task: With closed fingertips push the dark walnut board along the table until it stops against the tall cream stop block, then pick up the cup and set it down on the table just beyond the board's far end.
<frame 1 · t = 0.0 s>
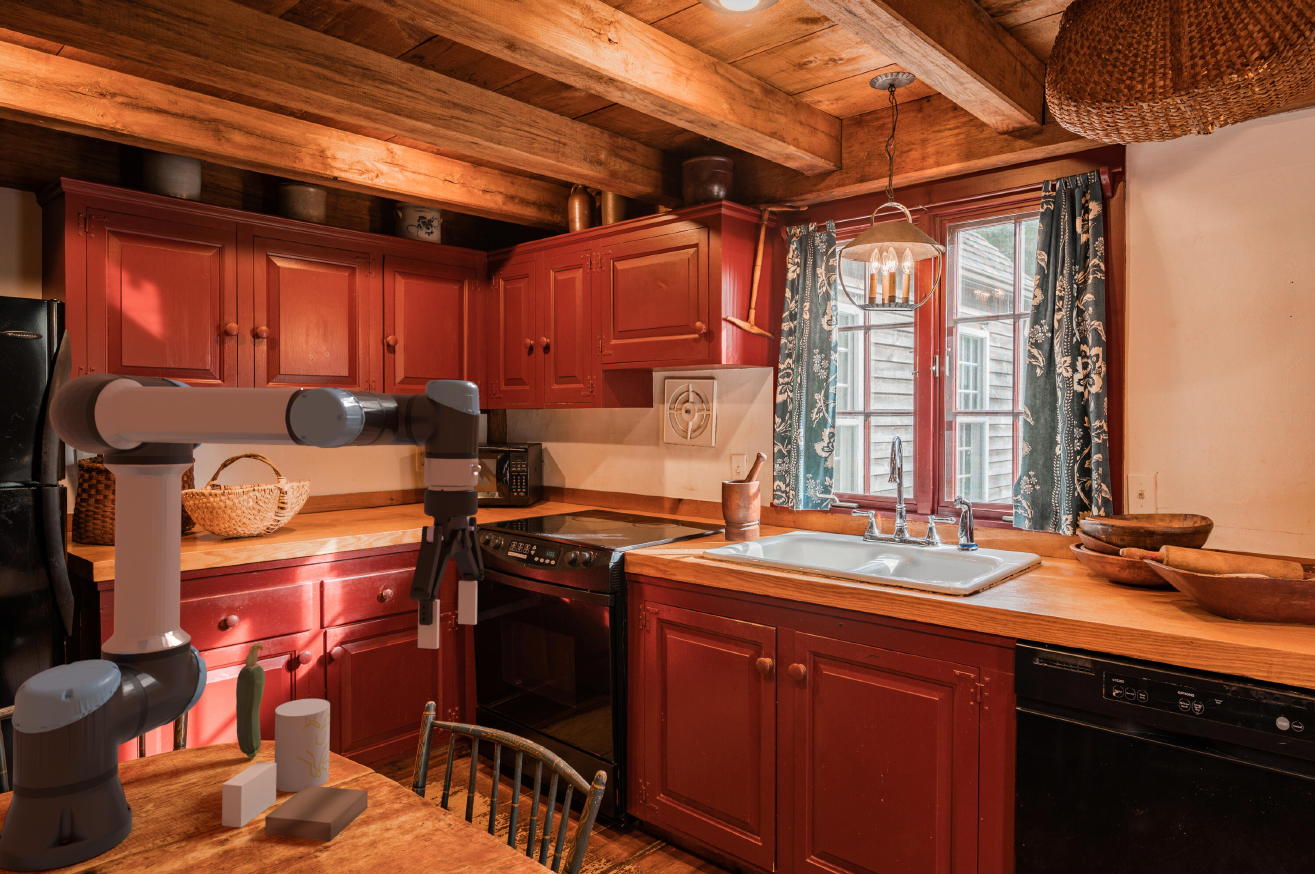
hand: (449, 635, 115), 28 cm above the table, fingers open, 13 cm apart
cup: (301, 781, 130), on the table
stop block: (249, 813, 118), on the table
vegetable: (249, 758, 138), on the table
board: (318, 823, 117), on the table
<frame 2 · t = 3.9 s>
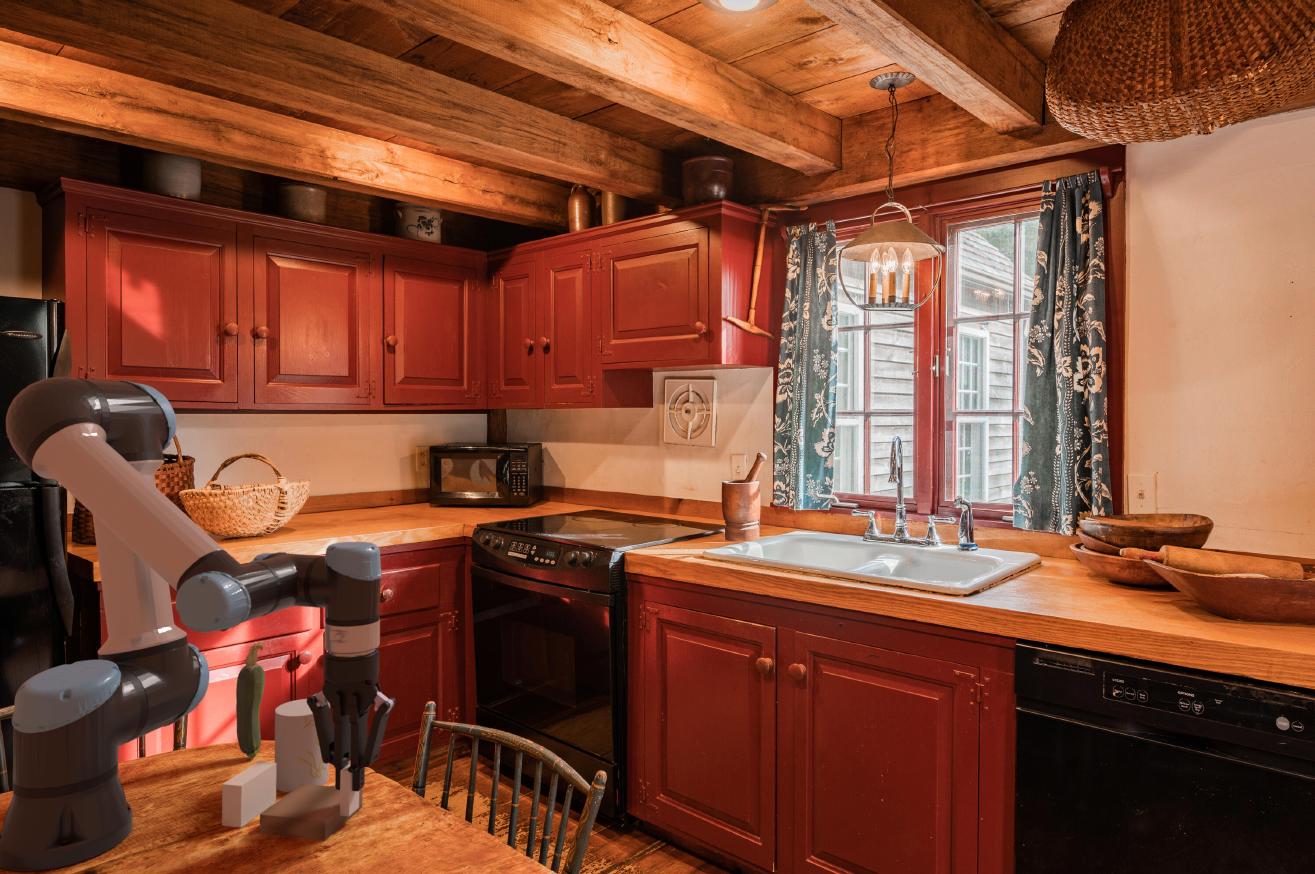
hand: (349, 811, 116), 2 cm above the table, fingers closed
board: (312, 821, 117), on the table, touching gripper
everything else where it was.
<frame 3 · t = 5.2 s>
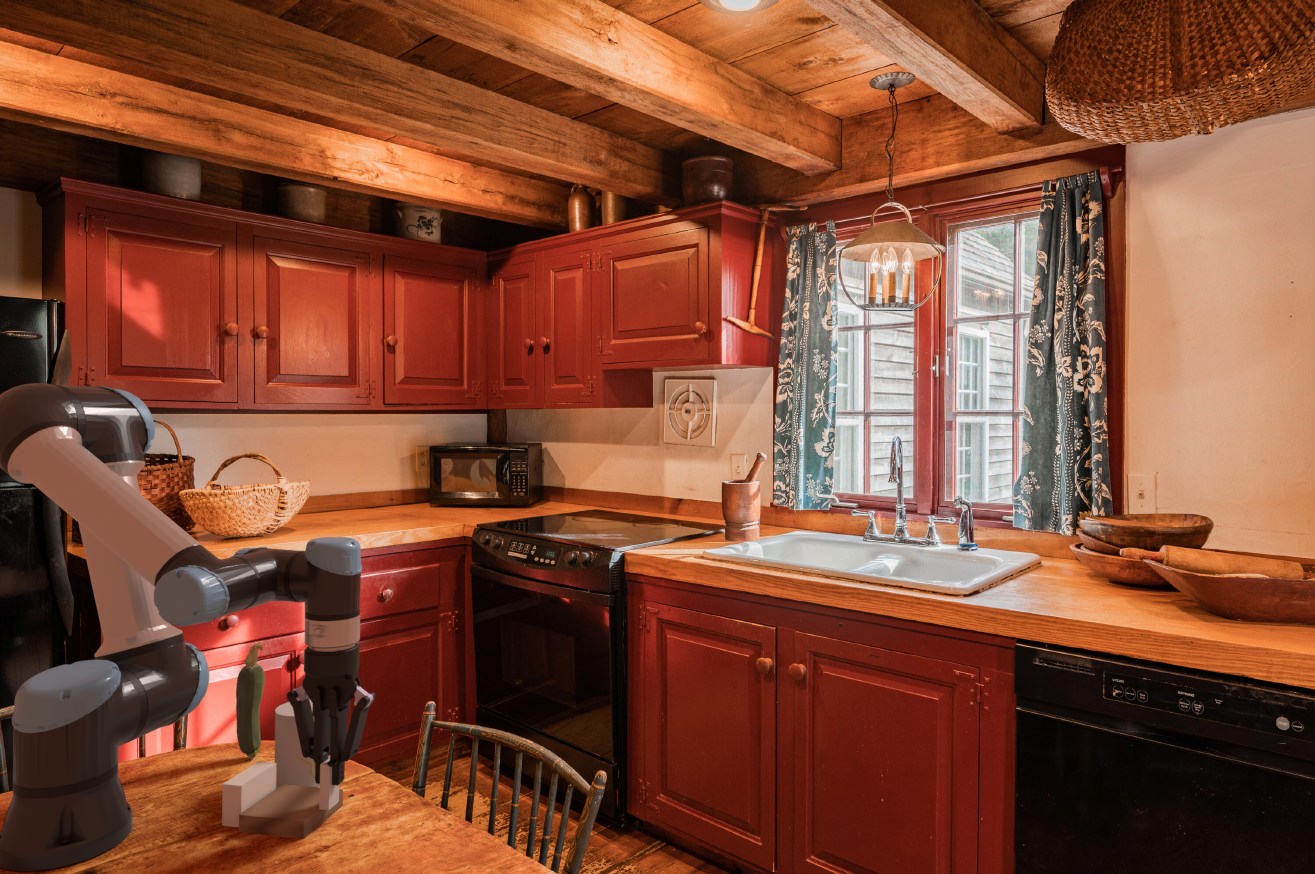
hand: (329, 805, 116), 2 cm above the table, fingers closed
board: (292, 821, 117), on the table
everything else where it was.
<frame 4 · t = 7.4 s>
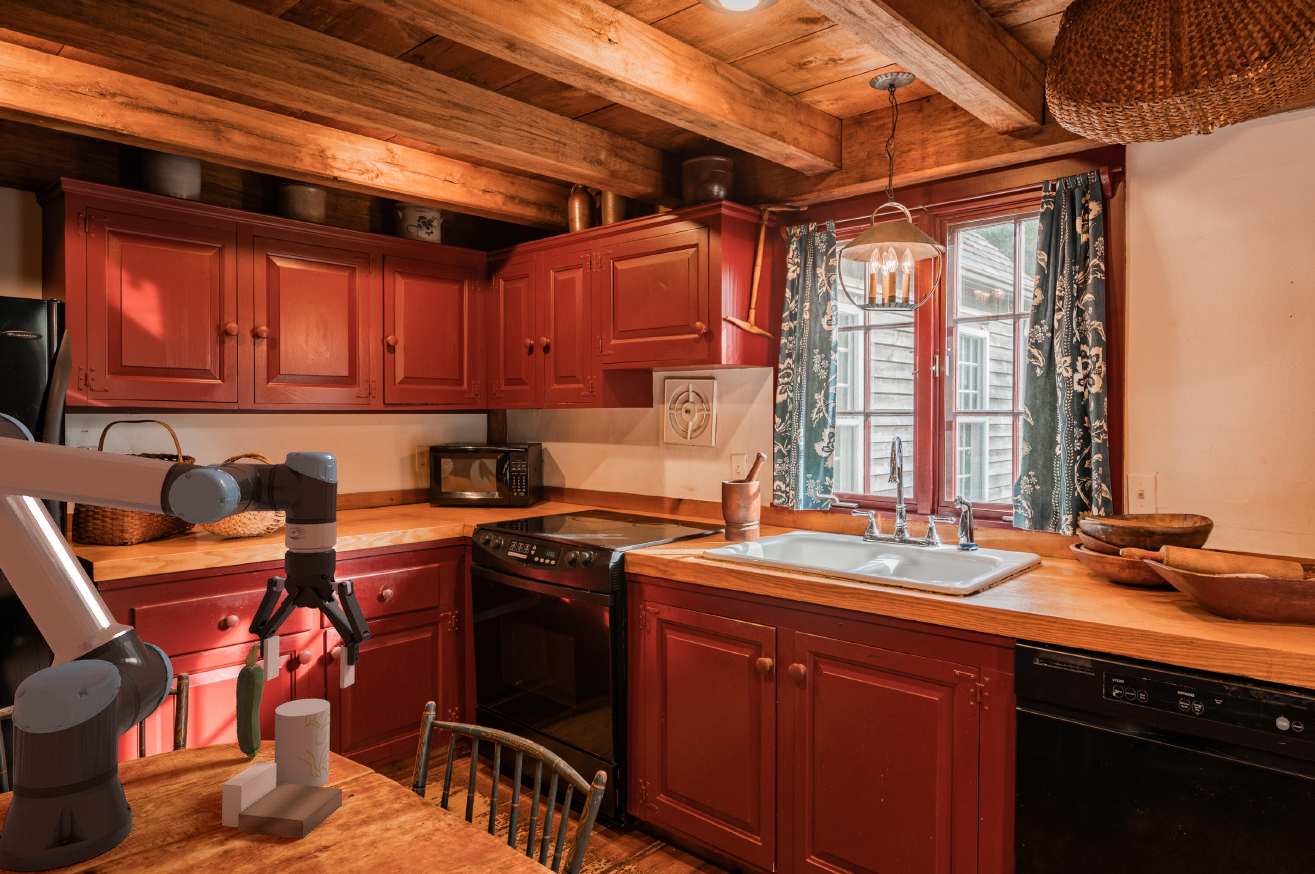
hand: (308, 681, 127), 17 cm above the table, fingers open, 13 cm apart
nothing on the table moved.
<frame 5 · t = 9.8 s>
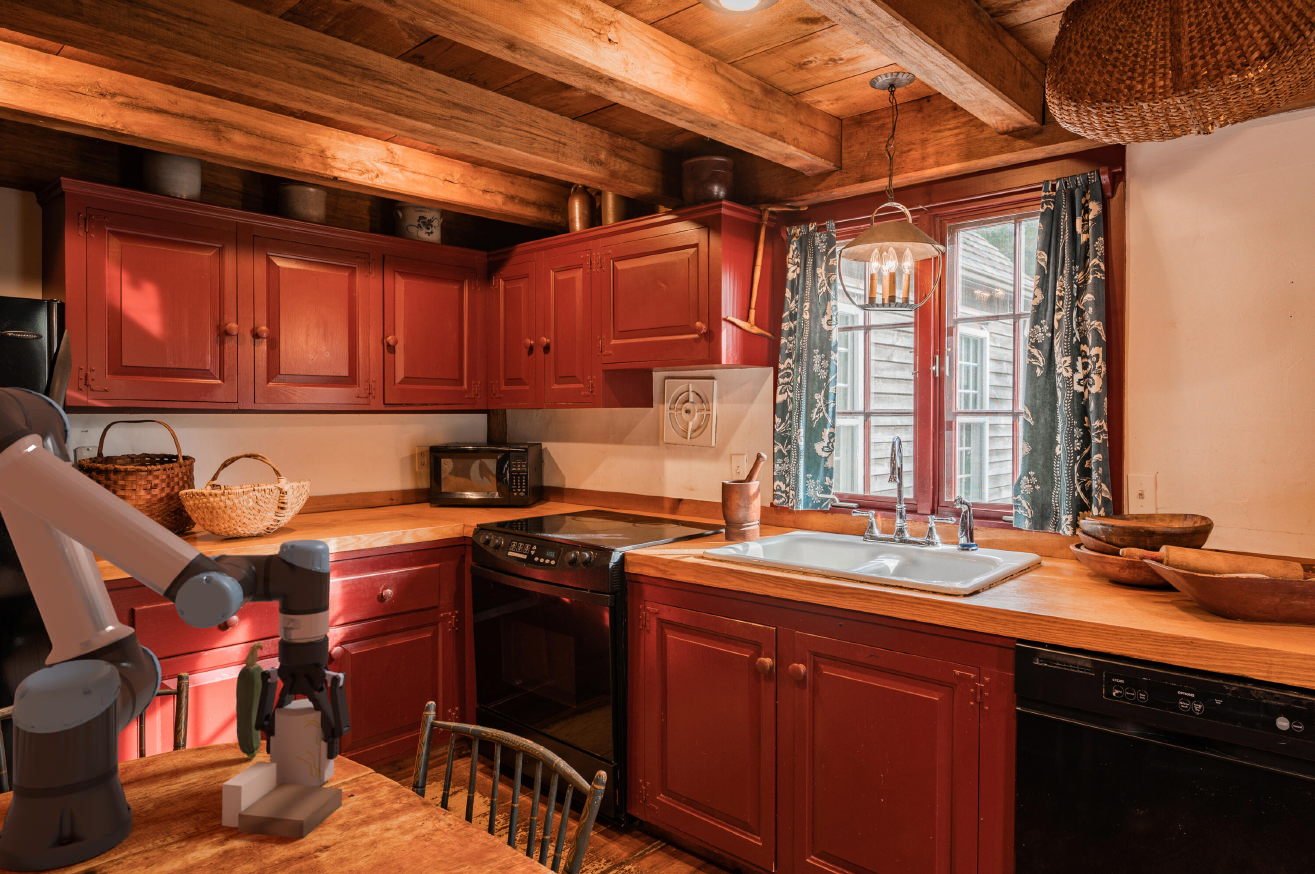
hand: (301, 775, 130), 1 cm above the table, fingers closed on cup, 8 cm apart
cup: (301, 781, 130), on the table, touching gripper
everything else where it was.
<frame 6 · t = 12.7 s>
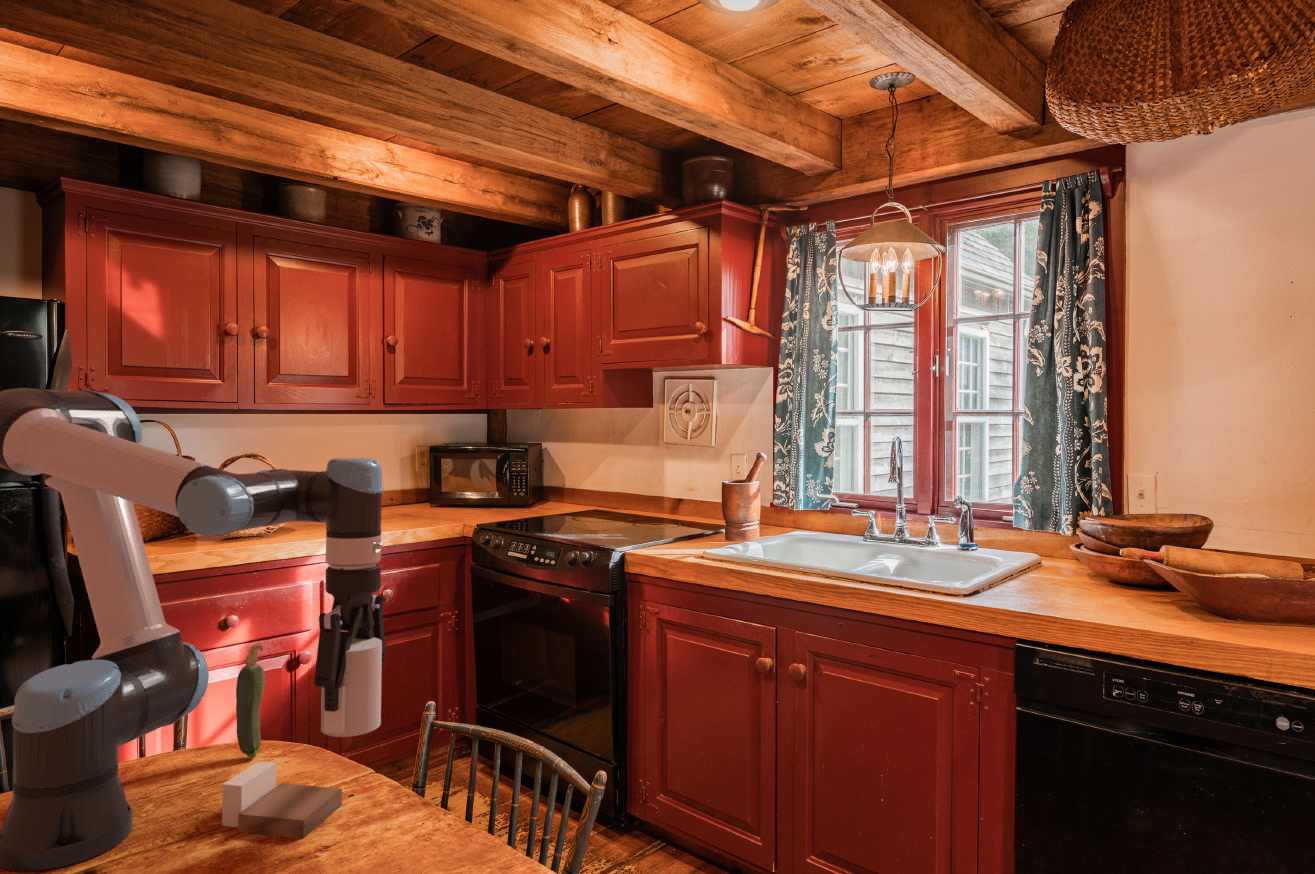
hand: (351, 720, 116), 15 cm above the table, fingers closed on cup, 8 cm apart
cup: (351, 727, 116), point 14 cm above the table, touching gripper
everything else where it was.
when the fingers open (1 cm above the table, at t = 15.6 s): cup stays where it is, on the table.
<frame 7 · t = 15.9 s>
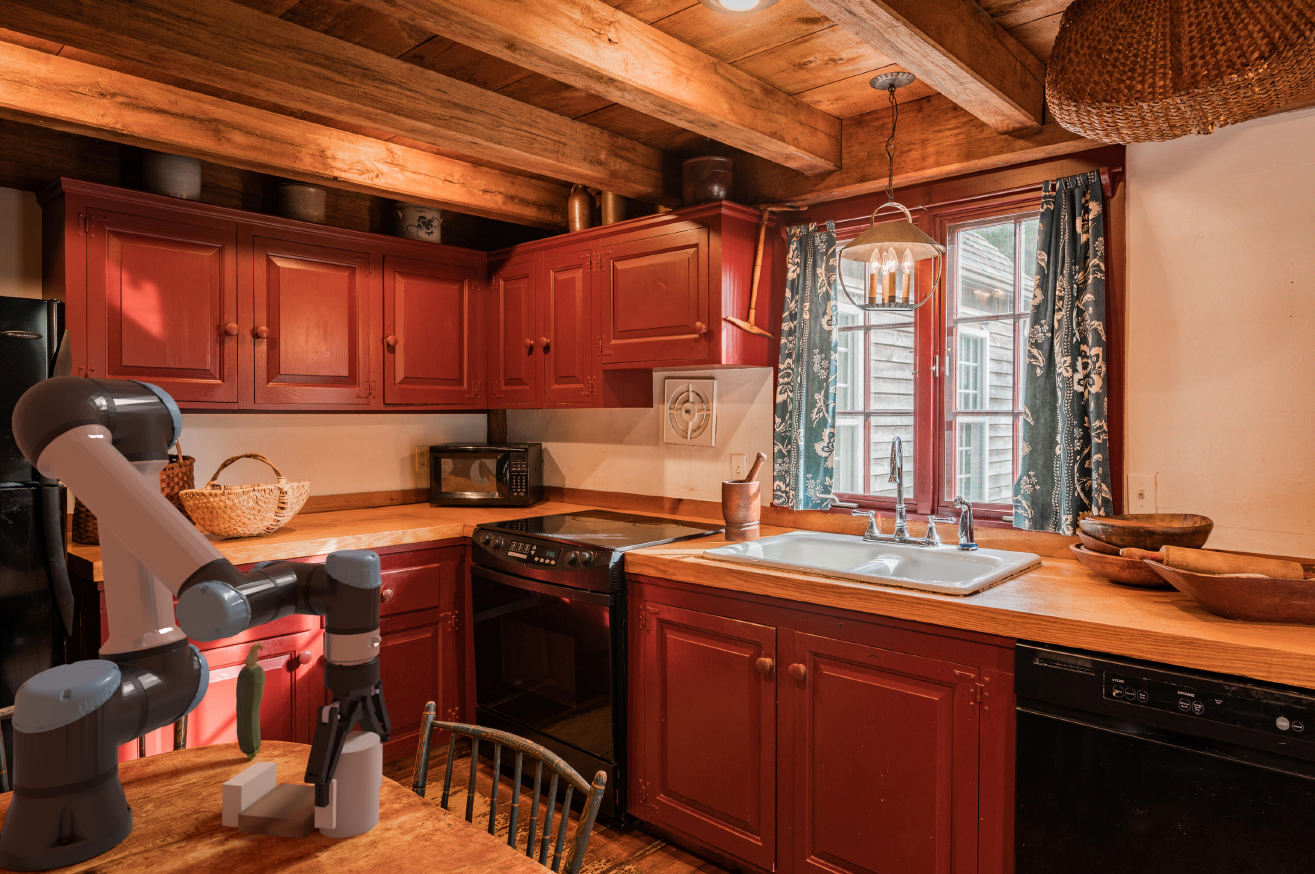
hand: (350, 805, 116), 3 cm above the table, fingers open, 12 cm apart
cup: (349, 824, 116), on the table
everything else where it was.
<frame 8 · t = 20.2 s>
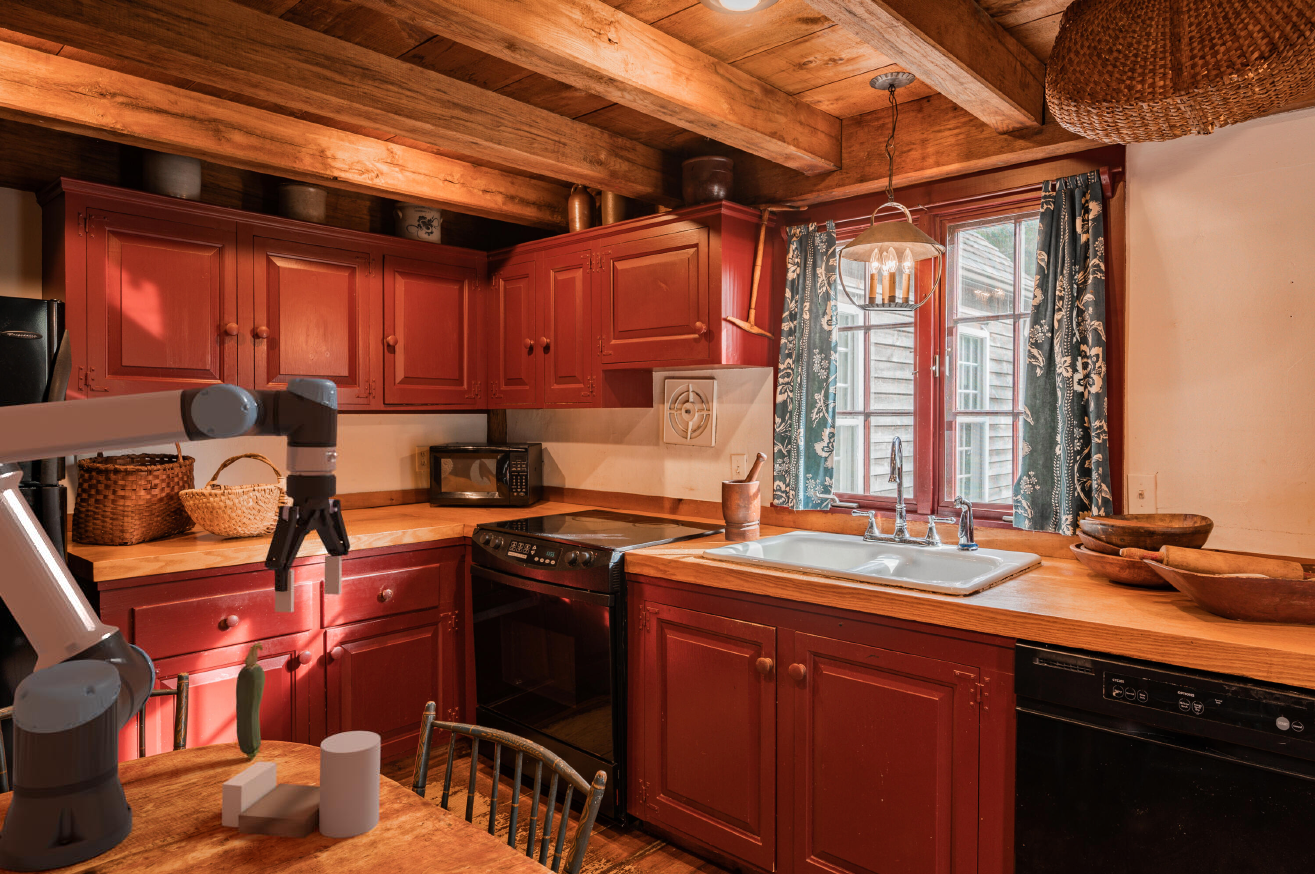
hand: (309, 602, 131), 29 cm above the table, fingers open, 13 cm apart
nothing on the table moved.
at the end: board 0.5 cm from the target spot on the table beside the stop block, on the table; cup inside the target area (0.8 cm from its centre), on the table; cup tilted 0° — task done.
